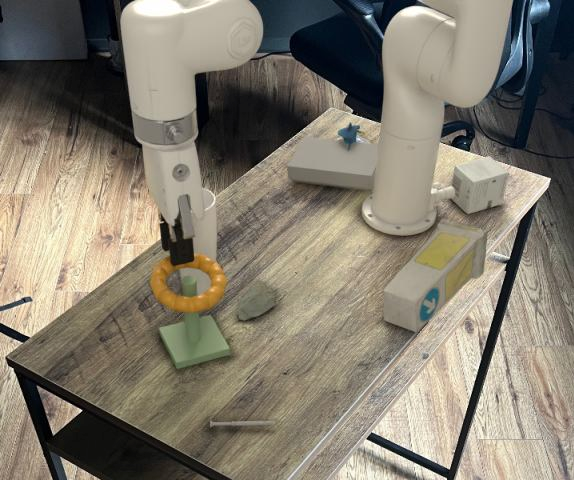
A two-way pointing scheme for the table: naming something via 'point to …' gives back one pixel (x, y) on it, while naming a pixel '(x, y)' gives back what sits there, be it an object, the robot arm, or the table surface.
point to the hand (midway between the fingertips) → (178, 254)
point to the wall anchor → (243, 423)
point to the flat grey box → (334, 163)
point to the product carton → (479, 184)
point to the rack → (193, 335)
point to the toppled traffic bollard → (435, 274)
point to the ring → (184, 302)
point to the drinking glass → (204, 240)
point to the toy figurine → (350, 134)
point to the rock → (256, 302)
